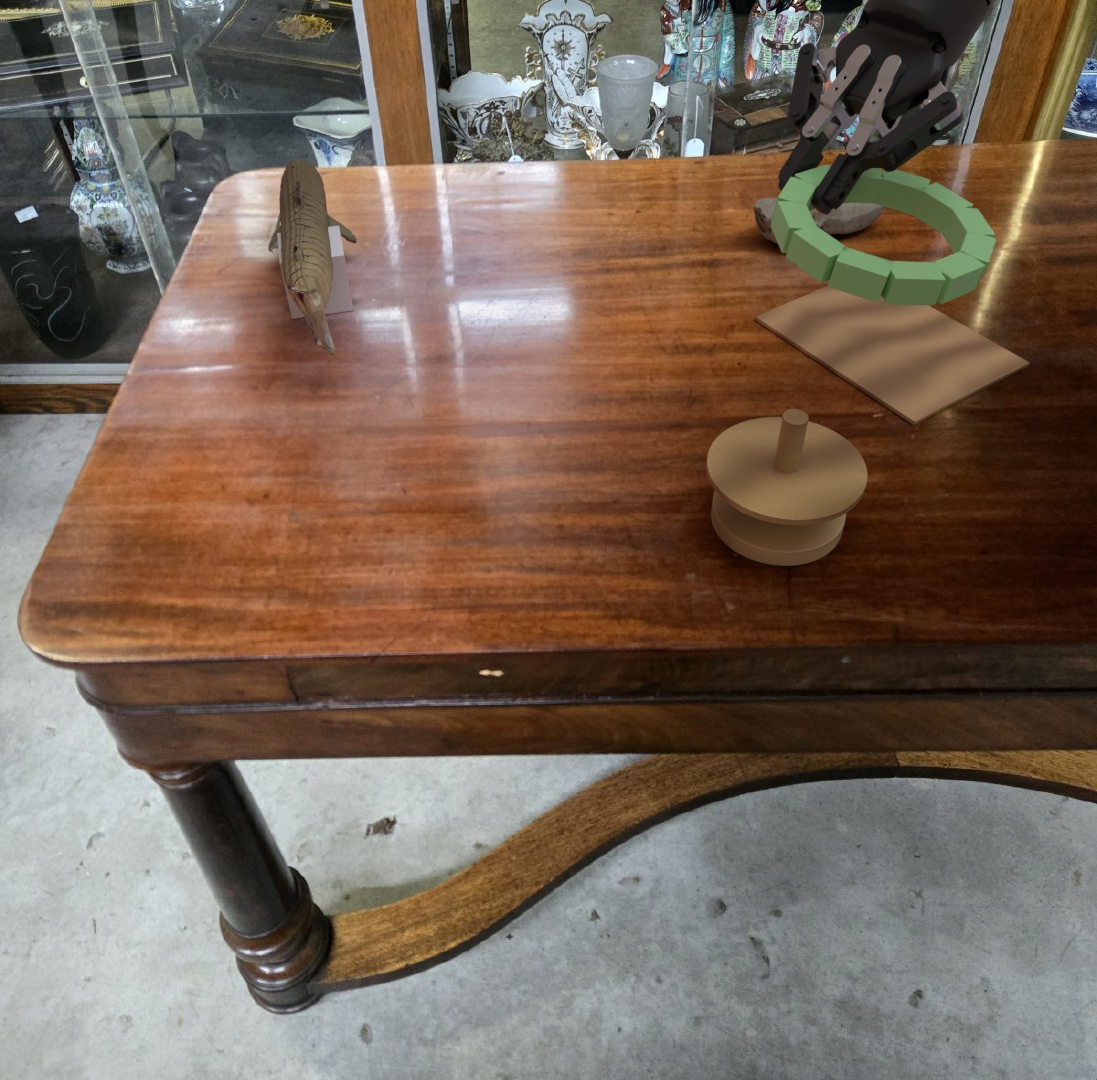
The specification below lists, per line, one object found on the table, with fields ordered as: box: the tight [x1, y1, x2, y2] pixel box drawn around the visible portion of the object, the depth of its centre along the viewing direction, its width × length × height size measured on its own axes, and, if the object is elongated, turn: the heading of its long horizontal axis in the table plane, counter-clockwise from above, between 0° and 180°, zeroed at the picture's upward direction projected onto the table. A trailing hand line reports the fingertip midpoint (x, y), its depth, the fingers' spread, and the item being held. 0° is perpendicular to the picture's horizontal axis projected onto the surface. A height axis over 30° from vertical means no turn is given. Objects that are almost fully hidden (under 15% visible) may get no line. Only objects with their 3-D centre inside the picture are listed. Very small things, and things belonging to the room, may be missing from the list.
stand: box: [705, 408, 869, 567], centre depth 76 cm, size 12×12×10 cm
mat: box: [754, 285, 1031, 426], centre depth 97 cm, size 20×15×1 cm
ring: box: [771, 163, 997, 306], centre depth 71 cm, size 15×15×2 cm
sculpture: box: [752, 197, 886, 244], centre depth 110 cm, size 7×5×15 cm
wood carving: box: [268, 159, 357, 356], centre depth 98 cm, size 9×35×11 cm, turn 13°
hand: (802, 200), depth 74 cm, fingers closed on ring, 2 cm apart
